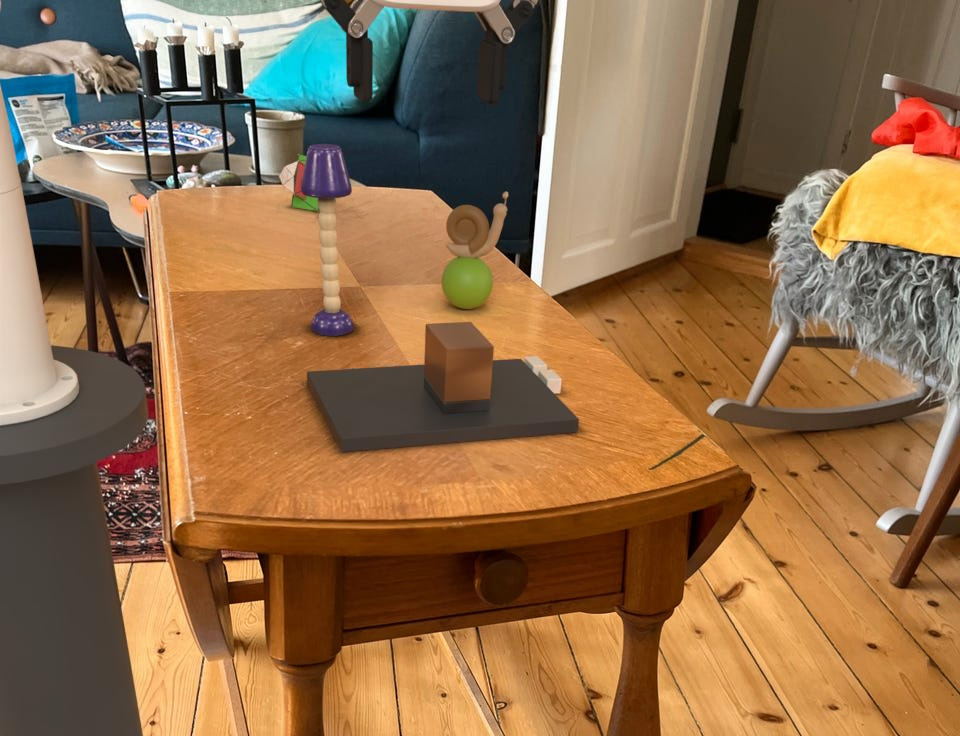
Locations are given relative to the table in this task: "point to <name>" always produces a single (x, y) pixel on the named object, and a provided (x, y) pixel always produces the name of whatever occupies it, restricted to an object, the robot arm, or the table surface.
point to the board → (432, 408)
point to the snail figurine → (471, 254)
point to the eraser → (458, 367)
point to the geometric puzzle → (297, 184)
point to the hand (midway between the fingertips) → (426, 100)
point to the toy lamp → (328, 230)
